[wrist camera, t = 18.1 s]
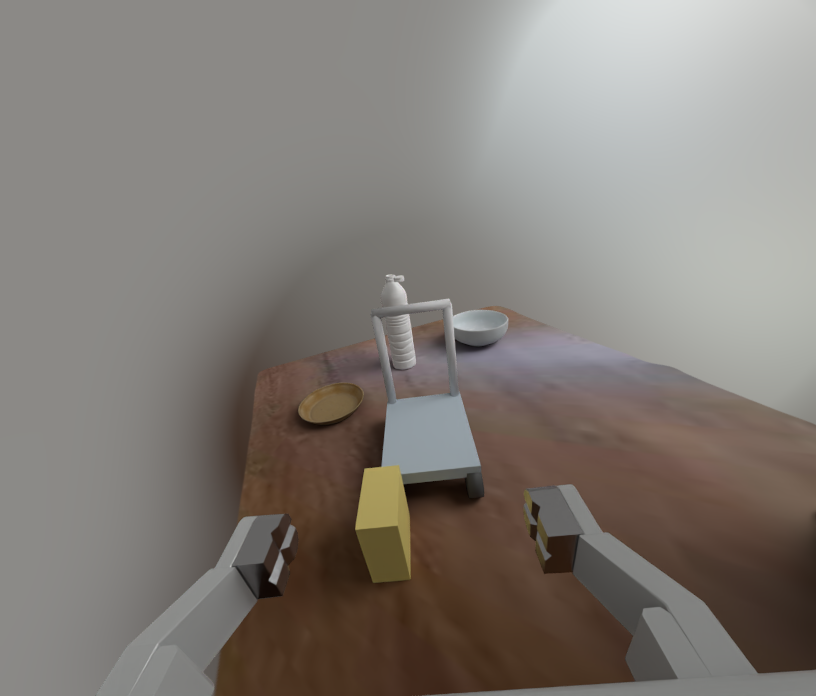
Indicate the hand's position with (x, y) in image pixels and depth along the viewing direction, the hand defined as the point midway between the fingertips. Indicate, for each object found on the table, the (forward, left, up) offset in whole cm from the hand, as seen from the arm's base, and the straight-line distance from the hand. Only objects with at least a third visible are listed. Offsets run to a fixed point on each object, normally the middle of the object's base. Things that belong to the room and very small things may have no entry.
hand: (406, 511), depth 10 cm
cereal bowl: (-18, -75, -30) cm, 83 cm away
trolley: (0, -32, -30) cm, 44 cm away
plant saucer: (+21, -49, -30) cm, 61 cm away
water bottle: (+4, -65, -30) cm, 72 cm away
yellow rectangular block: (+6, -17, -30) cm, 35 cm away
